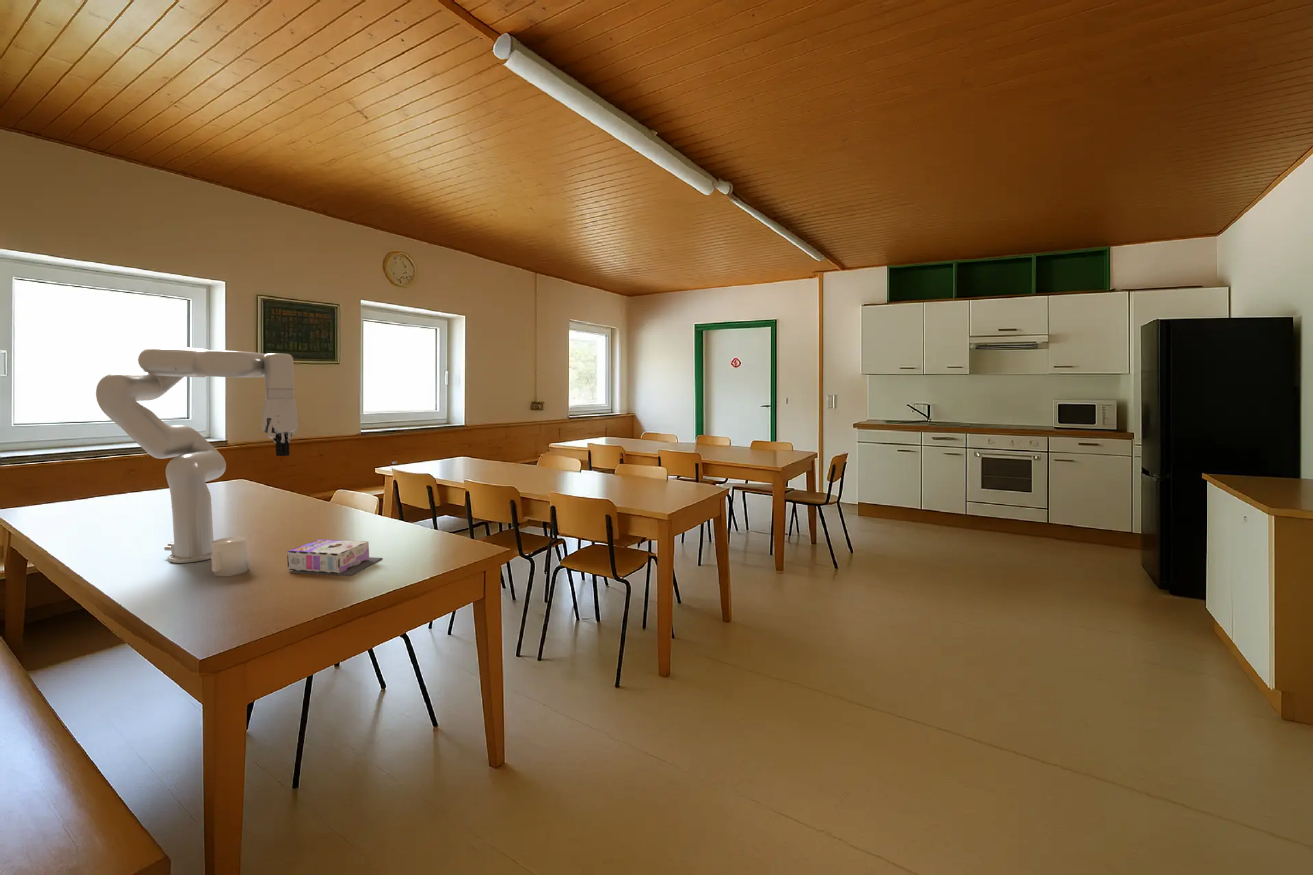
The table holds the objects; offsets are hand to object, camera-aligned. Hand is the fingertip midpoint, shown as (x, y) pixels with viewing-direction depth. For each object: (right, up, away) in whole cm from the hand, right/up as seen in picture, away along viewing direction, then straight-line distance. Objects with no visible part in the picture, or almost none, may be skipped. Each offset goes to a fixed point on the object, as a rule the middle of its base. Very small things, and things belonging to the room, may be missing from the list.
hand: (282, 455), depth 185 cm
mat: (+20, -32, -6) cm, 38 cm away
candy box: (+9, -29, -5) cm, 31 cm away
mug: (-7, -32, -12) cm, 35 cm away
